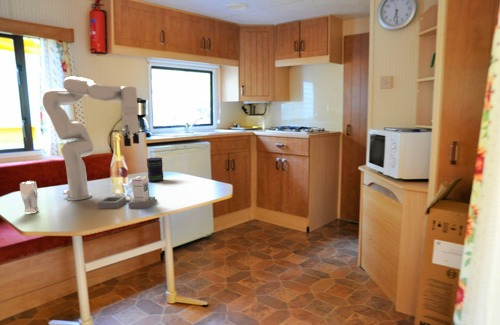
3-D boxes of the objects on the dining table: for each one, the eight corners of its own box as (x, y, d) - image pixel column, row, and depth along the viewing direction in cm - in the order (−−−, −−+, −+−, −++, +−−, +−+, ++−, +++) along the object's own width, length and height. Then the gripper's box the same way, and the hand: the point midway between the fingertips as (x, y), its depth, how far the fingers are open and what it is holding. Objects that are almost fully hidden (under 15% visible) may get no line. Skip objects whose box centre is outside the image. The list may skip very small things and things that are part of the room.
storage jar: (167, 180, 235) (165, 158, 232) (155, 183, 226) (154, 160, 224) (156, 178, 240) (154, 157, 237) (145, 181, 232) (143, 159, 229)
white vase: (37, 209, 178) (32, 180, 175) (42, 211, 174) (38, 182, 171) (21, 213, 173) (16, 183, 170) (26, 215, 168) (22, 185, 166)
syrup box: (145, 207, 177) (142, 178, 174) (134, 206, 178) (131, 178, 175) (150, 203, 182) (147, 176, 180) (139, 203, 183) (137, 176, 181)
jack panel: (98, 208, 177) (97, 202, 177) (109, 201, 189) (109, 195, 189) (148, 208, 175) (147, 202, 174) (156, 201, 187) (156, 195, 186)
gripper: (130, 110, 188) (132, 142, 192) (114, 112, 172) (117, 147, 175) (144, 110, 188) (145, 142, 191) (129, 112, 171) (131, 147, 174)
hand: (132, 144), depth 183 cm, fingers open, 9 cm apart
